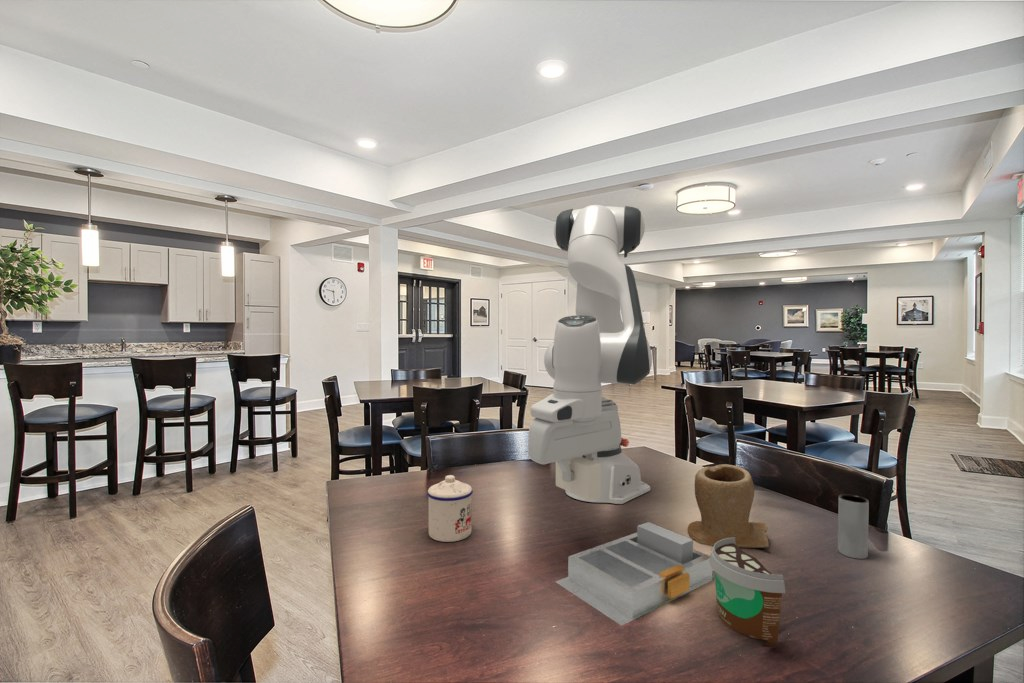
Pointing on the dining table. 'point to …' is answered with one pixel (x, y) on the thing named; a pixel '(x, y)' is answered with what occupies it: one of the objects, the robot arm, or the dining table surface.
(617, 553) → the rack
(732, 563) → the food container
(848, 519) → the grey hollow cylinder
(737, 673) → the dining table surface
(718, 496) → the stone cup
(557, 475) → the beige rectangular block
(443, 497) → the teacup with lid
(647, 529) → the gray rectangular block
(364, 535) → the dining table surface
